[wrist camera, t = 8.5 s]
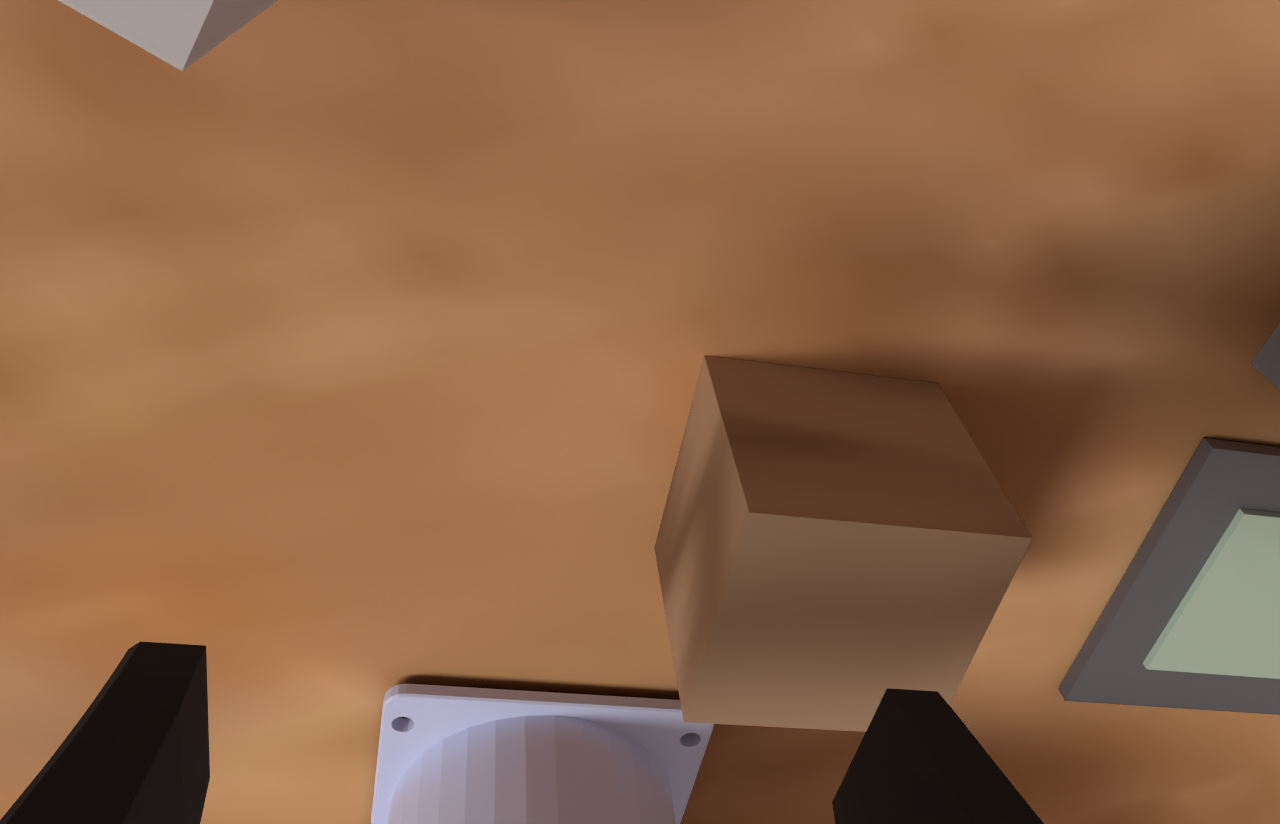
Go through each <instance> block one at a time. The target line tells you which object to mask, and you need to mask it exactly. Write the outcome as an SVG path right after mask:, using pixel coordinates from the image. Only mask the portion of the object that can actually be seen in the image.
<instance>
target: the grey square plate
mask: <svg viewBox="0 0 1280 824" xmlns="http://www.w3.org/2000/svg"><path fill="white" fill-rule="evenodd" d="M1059 691H1060V693H1061V695H1062V696H1063V698H1064V700H1065V701H1077V702H1092V703H1108V704H1123V705H1139V706H1154V707H1169V708H1185V709H1200V710H1216V711H1231V712H1246V713H1262V714H1277V715H1280V447H1276V446H1268V445H1259V444H1251V443H1243V442H1234V441H1226V440H1218V439H1209V438H1203V440H1202V441H1201V443H1200V445H1199V447H1198V448H1197V450H1196V452H1195V453H1194V455H1193V457H1192V459H1191V460H1190V462H1189V464H1188V466H1187V467H1186V469H1185V471H1184V473H1183V474H1182V476H1181V478H1180V479H1179V481H1178V483H1177V485H1176V486H1175V488H1174V490H1173V492H1172V493H1171V495H1170V497H1169V498H1168V500H1167V502H1166V504H1165V505H1164V507H1163V509H1162V511H1161V512H1160V514H1159V516H1158V517H1157V519H1156V521H1155V523H1154V524H1153V526H1152V528H1151V530H1150V531H1149V533H1148V535H1147V536H1146V538H1145V540H1144V542H1143V543H1142V545H1141V547H1140V549H1139V550H1138V552H1137V554H1136V555H1135V557H1134V559H1133V561H1132V562H1131V564H1130V566H1129V568H1128V569H1127V571H1126V573H1125V574H1124V576H1123V578H1122V580H1121V581H1120V583H1119V585H1118V587H1117V588H1116V590H1115V592H1114V593H1113V595H1112V597H1111V599H1110V600H1109V602H1108V604H1107V606H1106V607H1105V609H1104V611H1103V612H1102V614H1101V616H1100V618H1099V619H1098V621H1097V623H1096V625H1095V626H1094V628H1093V630H1092V631H1091V633H1090V635H1089V637H1088V638H1087V640H1086V642H1085V644H1084V645H1083V647H1082V649H1081V650H1080V652H1079V654H1078V656H1077V657H1076V659H1075V661H1074V663H1073V664H1072V666H1071V668H1070V669H1069V671H1068V673H1067V675H1066V676H1065V678H1064V680H1063V682H1062V683H1061V685H1060V687H1059Z"/></svg>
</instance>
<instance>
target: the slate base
mask: <svg viewBox="0 0 1280 824" xmlns="http://www.w3.org/2000/svg"><path fill="white" fill-rule="evenodd" d="M1251 364H1252V365H1253V366H1254V367H1255V368H1256V369H1257V370H1258V371H1259V372H1260V373H1262V374H1263V375H1264V376H1265V377H1266V378H1267V379H1268V380H1269V381H1270V382H1271V383H1272V384H1274V385H1275V386H1276V387H1277V388H1278V389H1279V390H1280V323H1279V324H1278V326H1277V327H1276V329H1275V330H1274V331H1273V333H1272V334H1271V336H1270V337H1269V338H1268V340H1267V341H1266V343H1265V344H1264V346H1263V347H1262V348H1261V350H1260V351H1259V353H1258V354H1257V355H1256V357H1255V358H1254V360H1253V361H1252V363H1251Z"/></svg>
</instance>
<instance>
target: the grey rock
mask: <svg viewBox="0 0 1280 824" xmlns="http://www.w3.org/2000/svg"><path fill="white" fill-rule="evenodd" d="M58 1H60V2H62V3H64V4H65V5H67V6H69V7H71V8H72V9H74V10H76V11H78V12H80V13H81V14H83V15H85V16H87V17H88V18H90V19H92V20H94V21H95V22H97V23H99V24H101V25H102V26H104V27H106V28H108V29H109V30H111V31H113V32H115V33H116V34H118V35H120V36H122V37H123V38H125V39H127V40H129V41H130V42H132V43H134V44H136V45H137V46H139V47H141V48H143V49H144V50H146V51H148V52H150V53H151V54H153V55H155V56H157V57H158V58H160V59H162V60H164V61H165V62H167V63H169V64H171V65H172V66H174V67H176V68H178V69H179V70H181V71H183V70H184V69H185V68H187V67H188V66H190V65H191V64H192V63H194V62H195V61H196V60H198V59H199V58H200V57H202V56H203V55H204V54H206V53H207V52H208V51H210V50H211V49H212V48H214V47H215V46H217V45H218V44H219V43H221V42H222V41H223V40H225V39H226V38H227V37H229V36H230V35H231V34H233V33H234V32H235V31H237V30H238V29H239V28H241V27H242V26H244V25H245V24H246V23H248V22H249V21H250V20H252V19H253V18H254V17H256V16H257V15H258V14H260V13H261V12H262V11H264V10H265V9H266V8H268V7H269V6H271V5H272V4H273V3H275V2H276V1H277V0H58Z"/></svg>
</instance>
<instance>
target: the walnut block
mask: <svg viewBox="0 0 1280 824" xmlns="http://www.w3.org/2000/svg"><path fill="white" fill-rule="evenodd" d="M1031 540H1032V537H1031V535H1030V533H1029V532H1028V530H1027V528H1026V527H1025V525H1024V523H1023V522H1022V520H1021V519H1020V517H1019V515H1018V514H1017V512H1016V510H1015V509H1014V507H1013V505H1012V504H1011V502H1010V501H1009V499H1008V497H1007V496H1006V494H1005V492H1004V491H1003V489H1002V487H1001V486H1000V484H999V482H998V481H997V479H996V478H995V476H994V474H993V473H992V471H991V469H990V468H989V466H988V464H987V463H986V461H985V460H984V458H983V456H982V455H981V453H980V451H979V450H978V448H977V446H976V445H975V443H974V442H973V440H972V438H971V437H970V435H969V433H968V432H967V430H966V428H965V427H964V425H963V424H962V422H961V420H960V419H959V417H958V415H957V414H956V412H955V410H954V409H953V407H952V405H951V404H950V402H949V401H948V399H947V397H946V396H945V394H944V392H943V391H942V389H941V387H940V386H939V384H938V383H933V382H925V381H916V380H908V379H899V378H891V377H882V376H874V375H865V374H857V373H848V372H840V371H831V370H823V369H814V368H806V367H797V366H789V365H780V364H771V363H763V362H754V361H746V360H737V359H729V358H720V357H712V356H704V358H703V362H702V366H701V370H700V374H699V378H698V382H697V385H696V389H695V393H694V397H693V401H692V405H691V409H690V412H689V416H688V420H687V424H686V428H685V432H684V436H683V440H682V443H681V447H680V451H679V455H678V459H677V463H676V467H675V470H674V474H673V478H672V482H671V486H670V490H669V494H668V497H667V501H666V505H665V509H664V513H663V517H662V521H661V525H660V528H659V532H658V536H657V540H656V544H655V553H656V559H657V565H658V571H659V577H660V583H661V589H662V595H663V601H664V607H665V613H666V619H667V625H668V631H669V637H670V643H671V649H672V655H673V661H674V667H675V673H676V679H677V685H678V691H679V697H680V703H681V709H682V715H683V721H684V722H689V723H708V724H727V725H746V726H765V727H784V728H803V729H822V730H841V731H860V732H866V731H867V729H868V727H869V725H870V723H871V721H872V719H873V716H874V714H875V712H876V710H877V708H878V706H879V704H880V702H881V700H882V698H883V696H884V694H885V691H886V689H887V688H890V689H906V690H923V691H938V692H939V694H940V695H941V696H942V697H943V699H944V700H945V701H946V702H947V703H948V705H949V704H950V702H951V700H952V698H953V696H954V694H955V692H956V690H957V688H958V686H959V684H960V682H961V680H962V678H963V676H964V674H965V672H966V670H967V668H968V666H969V664H970V662H971V660H972V658H973V656H974V654H975V652H976V650H977V648H978V646H979V644H980V642H981V640H982V638H983V636H984V634H985V632H986V630H987V628H988V626H989V624H990V622H991V620H992V618H993V616H994V614H995V612H996V610H997V608H998V606H999V604H1000V602H1001V600H1002V598H1003V596H1004V594H1005V592H1006V590H1007V588H1008V586H1009V584H1010V582H1011V580H1012V578H1013V576H1014V574H1015V572H1016V570H1017V568H1018V566H1019V564H1020V562H1021V560H1022V558H1023V556H1024V554H1025V552H1026V550H1027V548H1028V546H1029V544H1030V542H1031Z"/></svg>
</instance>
